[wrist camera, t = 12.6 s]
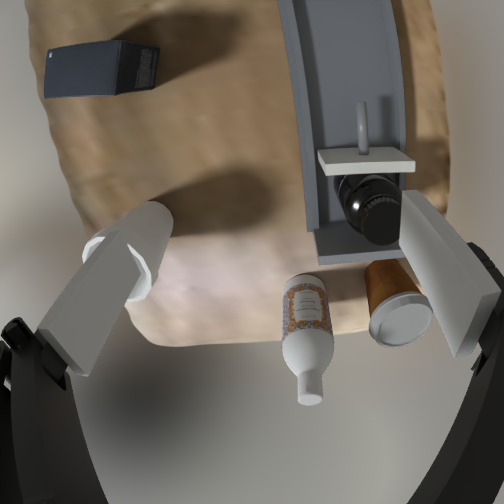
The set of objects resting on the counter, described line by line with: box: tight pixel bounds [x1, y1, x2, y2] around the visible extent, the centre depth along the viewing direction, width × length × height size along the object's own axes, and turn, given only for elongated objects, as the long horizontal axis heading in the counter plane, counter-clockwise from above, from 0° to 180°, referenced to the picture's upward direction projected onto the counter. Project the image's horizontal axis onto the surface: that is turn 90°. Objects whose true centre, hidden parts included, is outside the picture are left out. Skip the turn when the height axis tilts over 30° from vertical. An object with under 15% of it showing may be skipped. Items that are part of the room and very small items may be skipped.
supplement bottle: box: [333, 173, 402, 246], centre depth 30 cm, size 7×7×12 cm
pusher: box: [317, 102, 415, 176], centre depth 28 cm, size 7×10×7 cm
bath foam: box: [282, 275, 334, 405], centre depth 38 cm, size 7×7×20 cm
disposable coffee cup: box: [364, 259, 433, 348], centre depth 38 cm, size 10×10×12 cm
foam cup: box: [82, 201, 174, 303], centre depth 36 cm, size 10×9×13 cm
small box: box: [43, 40, 160, 99], centre depth 25 cm, size 11×6×10 cm, turn 79°
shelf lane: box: [277, 0, 406, 265], centre depth 27 cm, size 34×14×9 cm, turn 9°
